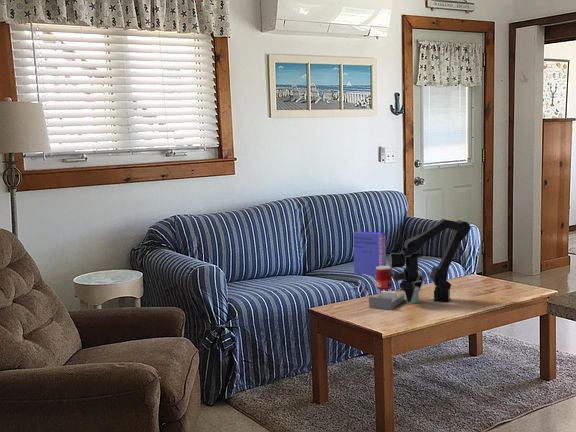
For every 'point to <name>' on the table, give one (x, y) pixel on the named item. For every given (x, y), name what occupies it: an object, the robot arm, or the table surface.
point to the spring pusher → (388, 294)
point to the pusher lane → (385, 302)
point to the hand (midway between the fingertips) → (412, 299)
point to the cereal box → (368, 252)
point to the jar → (414, 296)
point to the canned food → (383, 277)
